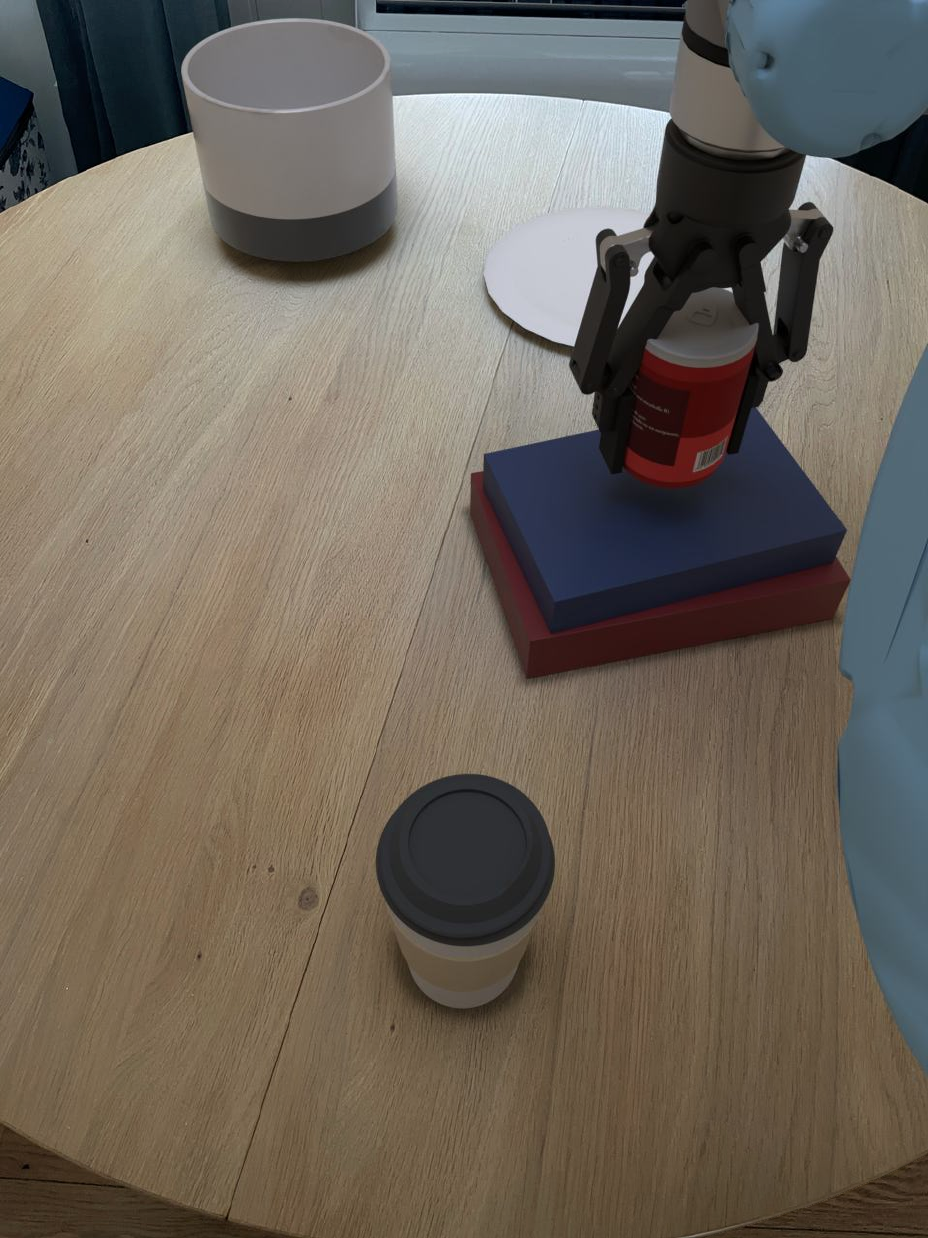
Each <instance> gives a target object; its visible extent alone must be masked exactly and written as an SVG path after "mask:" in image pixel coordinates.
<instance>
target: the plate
mask: <svg viewBox="0 0 928 1238" xmlns="http://www.w3.org/2000/svg"><path fill="white" fill-rule="evenodd" d="M650 214H651V212H647V211H642V210H637V209H633V208H627V207H613V206H600V205H598V206H596V205H595V206H582V207H568V208H563V209H559V210H555V211H550V212H546V213H542V214H539V215H536V216H534V217H532V218H530V219H528V220H525V221H523V222H521V223H518V224H516V225H515V226H514V227H512V228H511V229H510V230H508V231H507V232H506V233H504V234H502V235H501V236H500V237H498V239H497V240H496V242H495V243H494V244H493V246H492V248H491V249H490V250H489V252H488V253H487V254H486V259H485V263H484V269H483V278H484V282H485V285H486V290H487V294H488V296H489V297H490V299H491V300H492V301H493V303H494V304H495V305H496V307H497V308H498V309H499V311H500V312H501V314H503V315H504V316H505V317H507V318H508V319H509V320H511V321H512V322H513V323H514V324H516V325H517V326H519V327H520V328H521V329H522V330H524V331H526V332H528V333H530V334H533V335H535V336H537V337H539V338H542V339H544V340H546V341H548V342H551V343H553V344H556V345H559V346H564V347H568V348H572V349H573V348H574V345H575V341H576V338H577V335H578V331H579V328H580V324H581V321H582V318H583V314H584V311H585V307H586V304H587V300H588V297H589V294H590V290H591V287H592V283H593V280H594V276H595V273H596V270H597V253H596V237H597V235H598V233H599V232H600V231H602V230H604V229H612V230H613V231H614V232H615V233H616V235H617V236H619V235H622V234H626V233H629V232H632V231H636V230H639V229H642V228H643V226H644V223H645V221H646V220H647V218H648V217H649V215H650ZM580 236H582V237H580ZM576 237H577V238H576ZM569 238H573V239H569ZM568 239H569V240H568ZM564 240H565V241H564ZM562 241H563V242H562ZM653 258H654V255H653V254H652V252H648V253H646V254H645V255H644V256H643V257H642V258H641V260H640V263H639V267H638V271H639V272H638V274H637V275H636V276H634V277H631V280H630V290H629V294H628V298H627V301H626V304H625V307H624V310H623V313H622V316H621V319H620V322H619V325H620V324H621V322H622V320H623V319H624V317H625V315H626V313H627V312H628V310H629V308H630V307H631V305H632V303H633V302H634V300H635V298H636V296H637V295H638V293H639V291H640V290H641V288H642V286H643V284H644V275H645V272H646V270H647V268H648V266H649V265H650V263H651V261H652V260H653ZM723 289H725V290H728V291H730V292H732V287H731V288H723ZM732 293H733V292H732ZM619 325H618V327H619Z"/></svg>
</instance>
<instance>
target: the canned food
mask: <svg viewBox="0 0 928 1238" xmlns="http://www.w3.org/2000/svg"><path fill="white" fill-rule="evenodd" d="M758 327H759V324H758V323H755V324H752V325H750V324H749V323H748V321H747V320H746V319H745V317H744V316H743V314H742V313H741V311H740V310H739V308H738V307H737V305H736V304H735V300H734V296H733V293H732V292H730V291H728V290H725V289H723V288H715V287H712V288H709V289H706V290H703V291H701V292H696V293H692V294H691V295H690V297H689V299H688V300H687V302H686V303H685V305H684V307H683V308H682V309H681V310H680V311H675V312H674V313H673V314H672V316H671V318H670V319H669V321H668V322H667V324H666V326H665V327H664V329H663V330H662V332H661V334H660V335H659V337H658V338H657V340H656V339H649V340H647V345H646V347H645V351H644V356H643V361H642V364H641V366H640V367H639V369H638V370H637V372H636V374H635V375H634V377H633V378H632V380H631V382H630V383H629V385H628V386H629V388H630V390H631V392H632V394H633V395H634V397H635V399H634V405H633V411H632V417H631V422H630V428H629V434H628V440H627V445H626V451H625V457H624V463H623V467H624V468H625V469H626V470H627V471H628V472H629V473H630V474H631V475H632V476H634V477H635V478H637V479H638V480H640V481H642V482H645V483H647V484H650V485H653V486H657V487H663V488H684V487H690V486H693V485H696V484H699V483H700V482H702V481H704V480H706V479H707V478H708V477H710V476H711V475H712V474H713V473H714V471H715V470H716V469H717V467H718V466H719V465H720V463H721V462H722V461H723V458H724V456H725V453H726V449H727V446H728V442H729V439H730V435H731V432H732V428H733V424H734V421H735V417H736V414H737V410H738V407H739V403H740V400H741V396H742V392H743V389H744V385H745V382H746V378H747V375H748V371H749V368H750V364H751V361H752V357H753V353H754V348H755V345H756V341H757V334H758Z"/></svg>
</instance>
